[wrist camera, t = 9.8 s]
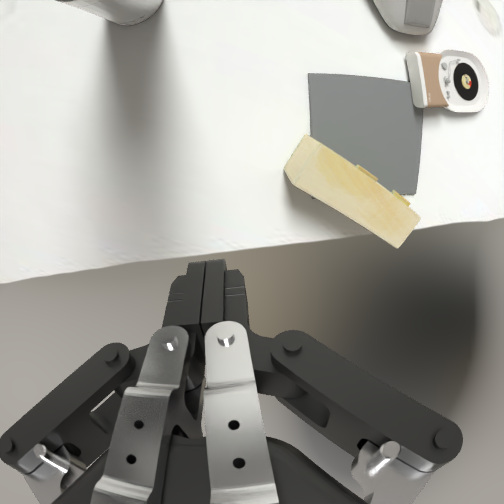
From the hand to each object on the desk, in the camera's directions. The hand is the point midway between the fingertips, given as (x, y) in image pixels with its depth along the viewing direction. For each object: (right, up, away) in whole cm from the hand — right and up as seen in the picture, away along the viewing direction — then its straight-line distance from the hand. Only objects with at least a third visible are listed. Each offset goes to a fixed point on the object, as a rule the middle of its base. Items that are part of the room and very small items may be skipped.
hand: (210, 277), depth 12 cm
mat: (+21, +19, +29) cm, 40 cm away
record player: (+36, +31, +22) cm, 53 cm away
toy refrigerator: (+8, +15, +26) cm, 31 cm away
